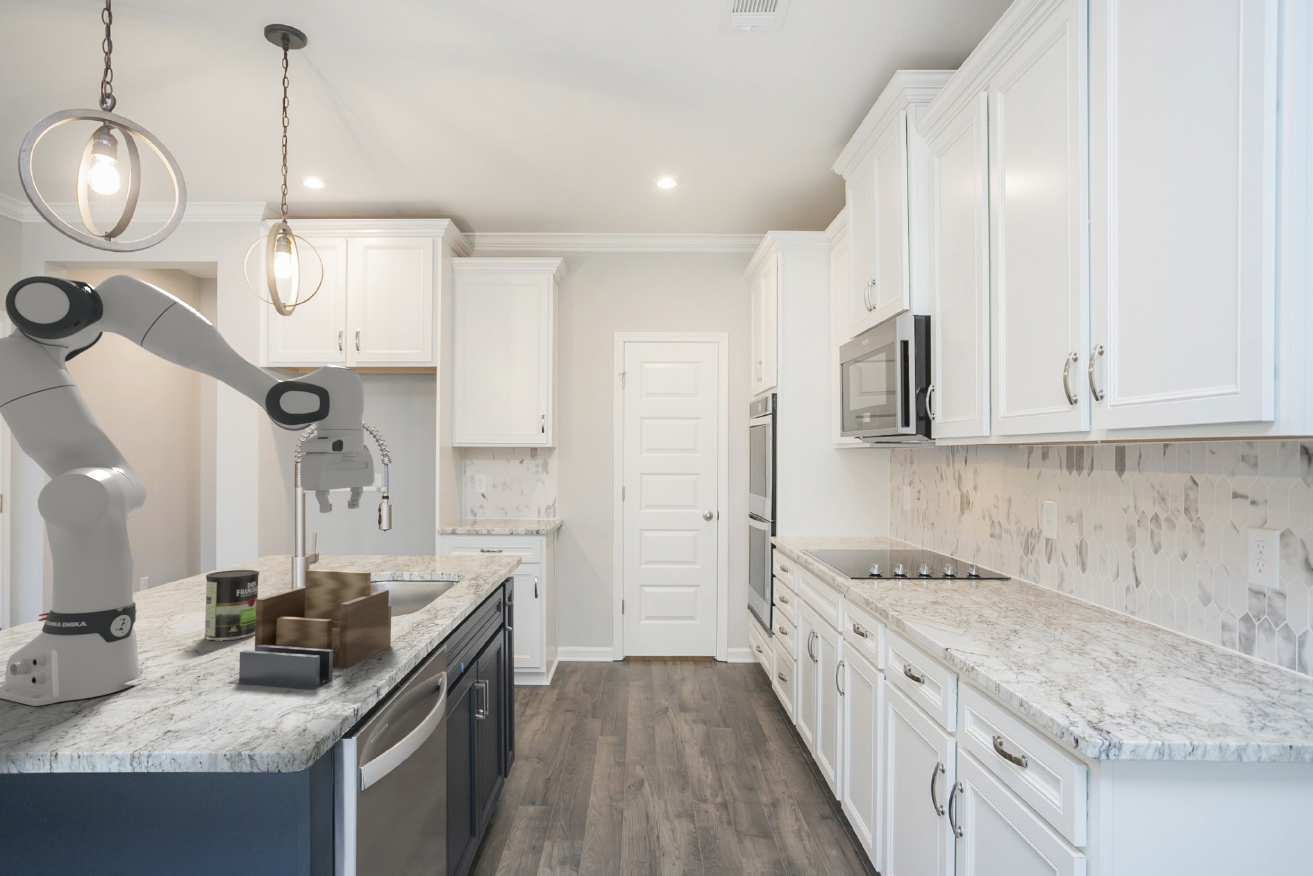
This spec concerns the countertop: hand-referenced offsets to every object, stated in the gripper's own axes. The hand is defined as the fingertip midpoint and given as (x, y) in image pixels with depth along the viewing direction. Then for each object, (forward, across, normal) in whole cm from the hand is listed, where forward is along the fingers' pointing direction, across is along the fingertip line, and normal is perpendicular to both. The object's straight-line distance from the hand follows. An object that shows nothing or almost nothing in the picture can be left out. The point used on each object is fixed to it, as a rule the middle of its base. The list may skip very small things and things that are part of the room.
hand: (340, 510), depth 141 cm
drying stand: (+30, +19, +2) cm, 35 cm away
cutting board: (+28, 0, 0) cm, 29 cm away
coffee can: (+30, -10, -33) cm, 46 cm away
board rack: (+30, +4, 0) cm, 30 cm away
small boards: (+28, +7, 0) cm, 29 cm away
